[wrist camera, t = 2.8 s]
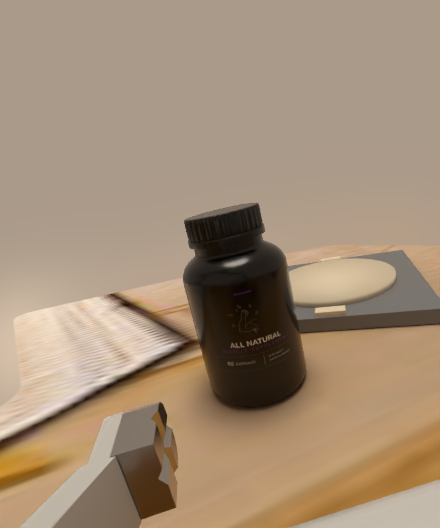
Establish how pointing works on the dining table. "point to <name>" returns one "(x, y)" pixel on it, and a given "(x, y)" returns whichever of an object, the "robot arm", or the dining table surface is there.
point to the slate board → (362, 293)
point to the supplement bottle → (243, 307)
